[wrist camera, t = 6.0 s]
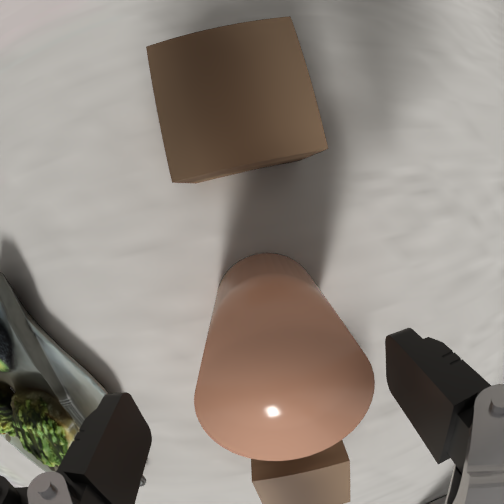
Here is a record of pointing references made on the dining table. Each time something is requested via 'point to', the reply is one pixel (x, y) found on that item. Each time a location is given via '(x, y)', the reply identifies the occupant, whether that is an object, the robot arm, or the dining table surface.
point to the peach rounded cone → (279, 365)
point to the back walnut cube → (304, 478)
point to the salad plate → (40, 387)
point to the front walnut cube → (234, 100)
